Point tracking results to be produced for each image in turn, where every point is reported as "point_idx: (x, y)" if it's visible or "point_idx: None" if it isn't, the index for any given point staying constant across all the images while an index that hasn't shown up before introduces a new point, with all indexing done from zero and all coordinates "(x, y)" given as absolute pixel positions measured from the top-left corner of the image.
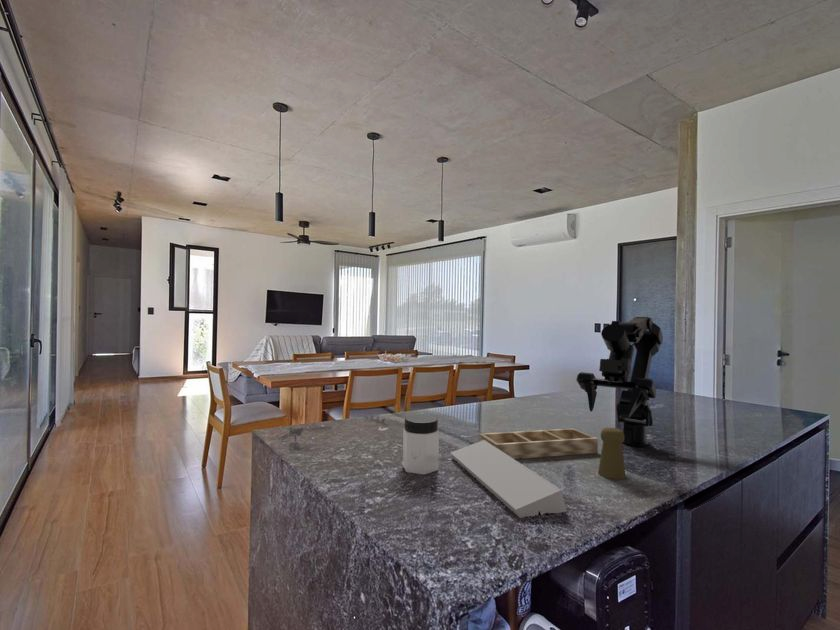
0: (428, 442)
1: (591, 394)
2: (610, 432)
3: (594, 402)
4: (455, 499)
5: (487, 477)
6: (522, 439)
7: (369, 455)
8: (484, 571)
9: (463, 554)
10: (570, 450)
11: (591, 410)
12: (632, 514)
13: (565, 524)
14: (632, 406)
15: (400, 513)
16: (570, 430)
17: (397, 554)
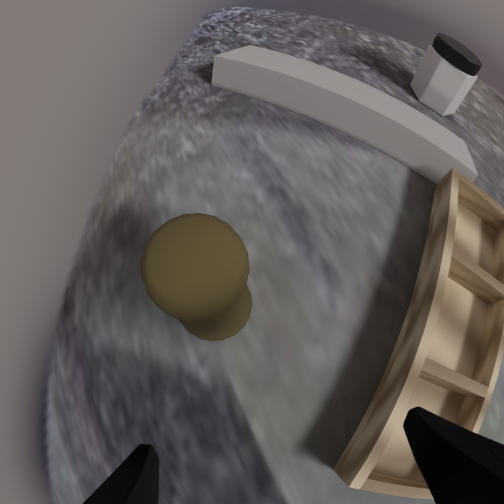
0: (427, 56)
1: (488, 464)
2: (186, 215)
3: (433, 490)
4: (328, 54)
5: (344, 77)
6: (474, 265)
7: (480, 109)
8: (219, 18)
9: (244, 19)
10: (387, 380)
11: (407, 416)
12: (128, 135)
13: (198, 68)
14: (100, 487)
15: (329, 30)
16: None
17: (275, 10)
